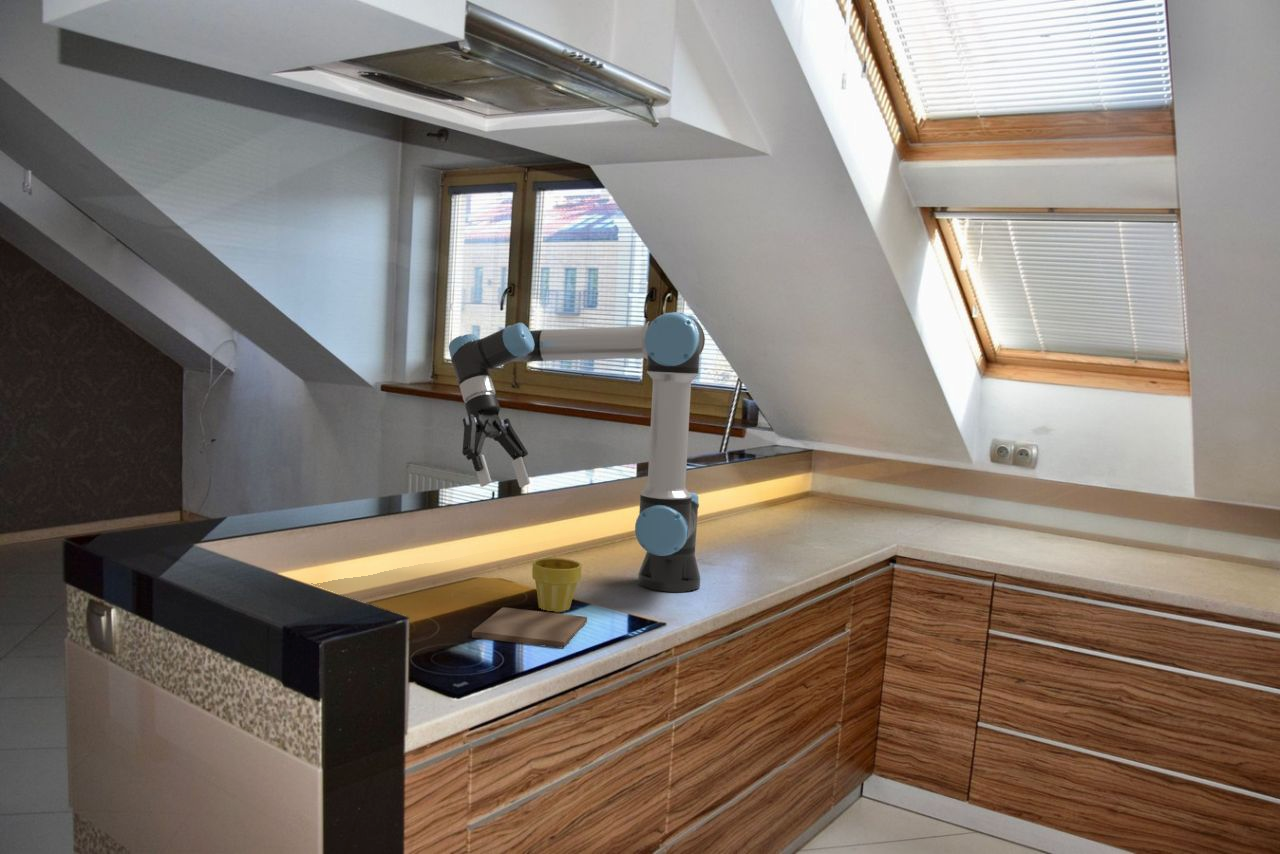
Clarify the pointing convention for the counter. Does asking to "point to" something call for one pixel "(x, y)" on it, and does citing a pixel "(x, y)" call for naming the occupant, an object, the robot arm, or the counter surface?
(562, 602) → the plant pot
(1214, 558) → the counter surface
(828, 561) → the counter surface
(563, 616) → the walnut board
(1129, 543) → the counter surface
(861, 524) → the counter surface
